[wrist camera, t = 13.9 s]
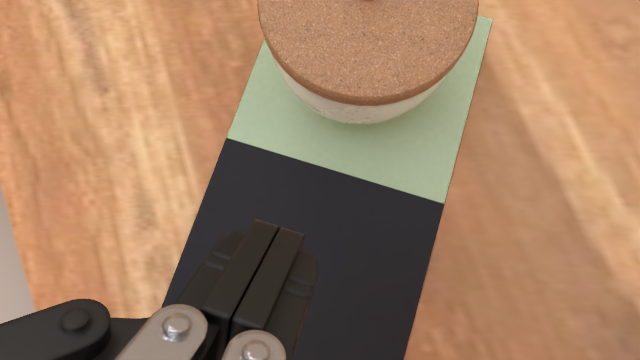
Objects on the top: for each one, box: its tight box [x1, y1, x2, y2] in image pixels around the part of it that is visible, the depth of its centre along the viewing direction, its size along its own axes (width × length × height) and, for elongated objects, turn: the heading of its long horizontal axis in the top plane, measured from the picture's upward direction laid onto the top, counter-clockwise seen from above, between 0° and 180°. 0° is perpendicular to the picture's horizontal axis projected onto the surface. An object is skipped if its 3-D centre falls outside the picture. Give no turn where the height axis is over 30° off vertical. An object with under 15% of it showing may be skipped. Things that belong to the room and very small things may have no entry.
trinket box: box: [257, 0, 479, 124], centre depth 25 cm, size 11×11×9 cm
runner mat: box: [162, 15, 493, 360], centre depth 28 cm, size 26×14×1 cm, turn 162°
